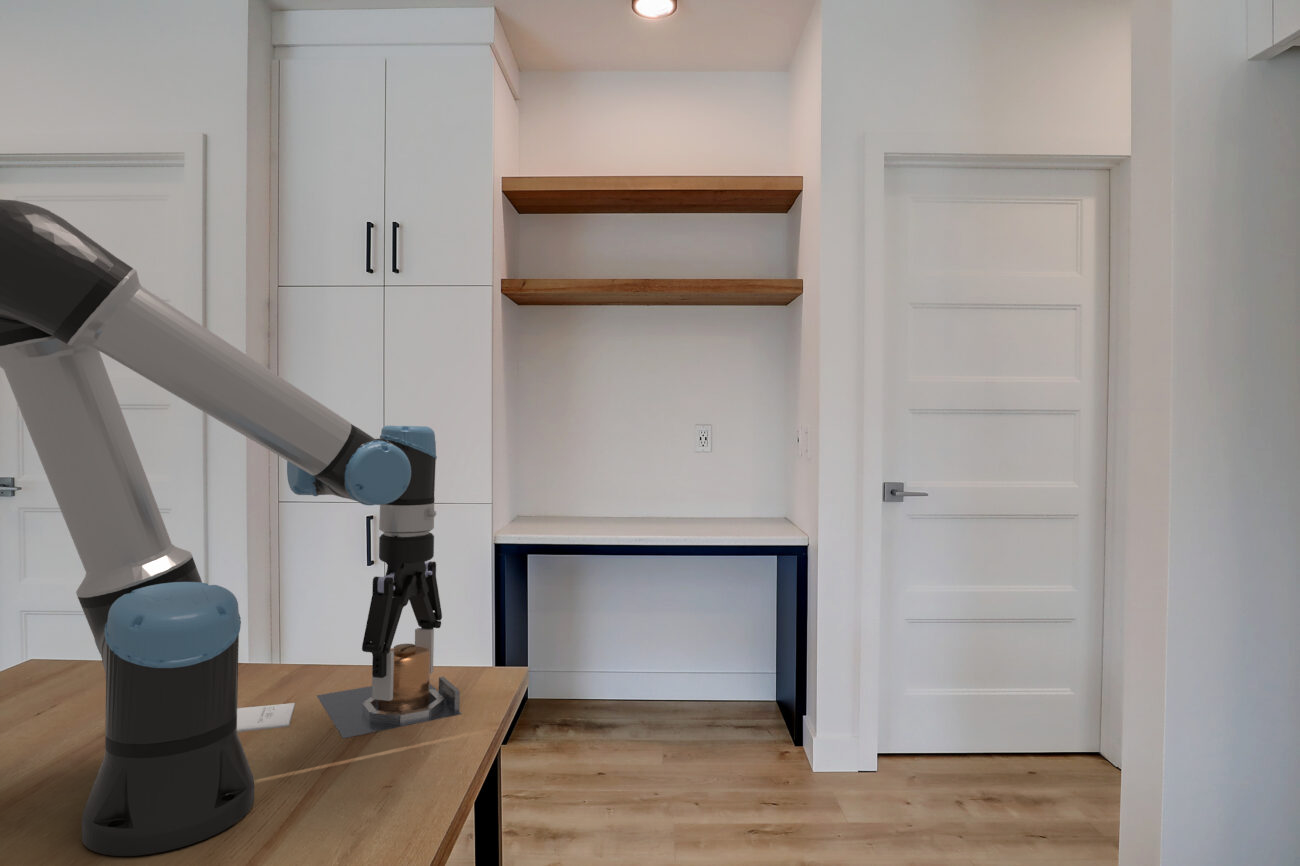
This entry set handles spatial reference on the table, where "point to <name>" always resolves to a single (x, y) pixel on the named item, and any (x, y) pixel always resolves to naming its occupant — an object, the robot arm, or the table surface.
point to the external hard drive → (264, 717)
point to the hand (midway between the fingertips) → (404, 684)
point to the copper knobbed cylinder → (409, 679)
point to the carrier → (361, 712)
